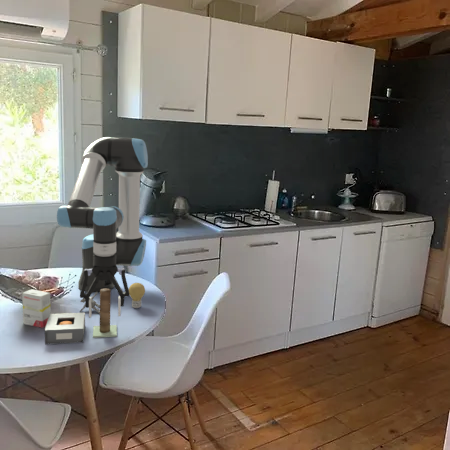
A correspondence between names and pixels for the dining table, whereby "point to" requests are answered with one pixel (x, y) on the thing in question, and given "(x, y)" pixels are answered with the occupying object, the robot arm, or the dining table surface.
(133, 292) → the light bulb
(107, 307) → the walnut dowel
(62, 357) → the dining table surface
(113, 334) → the mat
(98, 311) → the elephant figurine
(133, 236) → the robot arm
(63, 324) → the button
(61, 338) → the grey square holder
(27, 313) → the ink box
